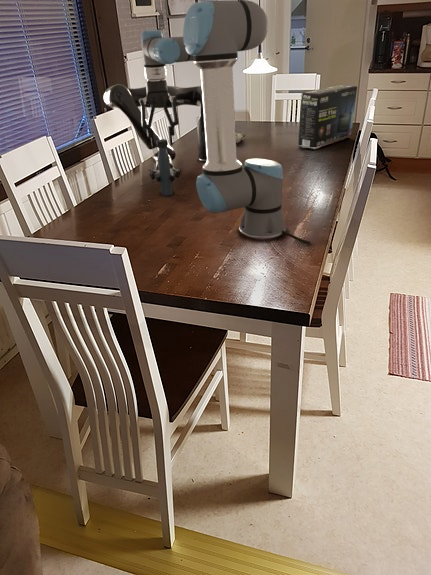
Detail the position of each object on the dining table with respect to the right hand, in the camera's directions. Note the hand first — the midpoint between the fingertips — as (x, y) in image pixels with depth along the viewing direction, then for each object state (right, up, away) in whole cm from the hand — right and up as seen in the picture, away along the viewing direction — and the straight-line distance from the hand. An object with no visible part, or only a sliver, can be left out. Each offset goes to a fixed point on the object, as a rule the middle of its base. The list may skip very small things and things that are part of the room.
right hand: (162, 145), depth 175 cm
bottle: (+1, -16, +10) cm, 19 cm away
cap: (0, +1, -1) cm, 2 cm away
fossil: (+28, +26, +79) cm, 88 cm away
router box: (+79, +23, +69) cm, 108 cm away
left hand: (+1, -12, +4) cm, 13 cm away
